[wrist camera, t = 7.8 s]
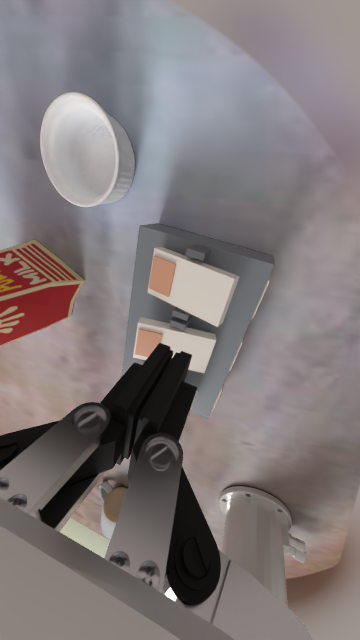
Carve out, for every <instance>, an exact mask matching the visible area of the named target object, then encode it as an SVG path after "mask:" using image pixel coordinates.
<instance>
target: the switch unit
mask: <svg viewBox="0 0 360 640" xmlns="http://www.w3.org/2000/svg"><path fill="white" fill-rule="evenodd" d="M158 247H163V248H166V249H169V250H171V251H174V252H177V253H179V254H182V255H184V256H187V257H190V258H192V259H195V260H198V261H200V262H203V263H206V264H208V265H211V266H213V267H216V268H219V269H221V270H224V271H227V272H229V273H232V274H235V275H237V276H240V277H239V279H238V282H237V285H236V288H235V290H234V293H233V296H232V299H231V301H230V304H229V307H228V310H227V312H226V315H225V318H224V321H223V323H222V324H221V325H220V326H218V327H216V326H214V325H212V324H210V323H208V322H206V321H204V320H202V319H200V318H198V317H196V316H194V315H192V314H190V313H188V312H186V311H184V310H182V309H180V308H178V307H176V306H174V305H172V304H170V303H168V302H166V301H163V300H161V299H159V298H157V297H155V296H153V295H151V294H149V293H147V292H148V286H149V279H150V273H151V267H152V260H153V254H154V248H158ZM274 265H275V264H274V260H273V256H272V255H268V254H265V253H261V252H258V251H254V250H251V249H247V248H244V247H240V246H236V245H233V244H229V243H226V242H222V241H219V240H215V239H212V238H208V237H205V236H201V235H198V234H194V233H191V232H187V231H184V230H180V229H177V228H173V227H170V226H166V225H163V224H159V223H158V224H149V225H140V227H139V235H138V244H137V252H136V260H135V269H134V277H133V285H132V294H131V302H130V310H129V319H128V327H127V335H126V344H125V352H124V361H123V369H122V376H123V375H124V374H125V373H126V371H127V370H128V369H129V368H130V367H131V365H132V364H133V363H135V362H136V363H138V362H139V361H140V360H141V361H143V362H145V361H146V360H142V359H138V358H133V353H134V346H135V339H136V332H137V325H138V321H139V319H140V317H144V318H148V319H152V320H157V321H161V322H166V323H170V324H169V325H171V326H173V327H176V328H179V329H182V330H185V329H186V327H187V328H192V329H196V330H200V331H205V332H209V333H213V334H216V343H215V345H214V348H213V351H212V354H211V356H210V359H209V362H208V365H207V367H206V370H205V373H201V372H196V371H192V370H188V372H187V375H186V378H185V382H186V383H188V384H191V385H193V386H196V387H198V388H197V391H198V393H197V395H196V398H195V401H194V404H193V406H192V409H191V412H193V413H195V414H197V415H199V416H202V417H204V418H206V419H208V418H209V415H210V413H211V411H212V410H214V407H216V405H217V403H218V400H219V398H220V396H221V393H222V391H223V386H224V381H225V379H226V376H227V374H228V372H229V370H230V371H231V368H232V366H233V364H234V362H235V359H236V357H237V355H238V352H239V350H240V348H241V346H242V343H243V338H244V335H245V332H246V330H247V328H248V325H249V323H250V321H251V319H252V318H254V316H255V314H256V311H257V309H258V307H259V305H260V302H261V300H262V298H263V295H264V293H265V291H266V289H267V286H268V284H269V282H270V278H269V277H270V275H271V272H272V270H273V268H274Z"/></svg>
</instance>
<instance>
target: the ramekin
mask: <svg viewBox="0 0 360 640" xmlns="http://www.w3.org/2000/svg"><path fill="white" fill-rule="evenodd" d="M40 148H41V155H42V159H43V163H44V166H45V169H46V172H47V174H48V176H49V178H50V180H51V182H52V184H53V185H54V187H55V188H56V190H57V191H58V192H59V193H60V194H61V195H62V196H63V197H64V198H65V199H66V200H67V201H69V202H71V203H72V204H74V205H77V206H81V207H92V206H96V205H99V204H106V203H112V202H116V201H117V200H119V199H121V198H122V197H123V196H124V195H125V194H126V193H127V191H128V190H129V188H130V186H131V183H132V180H133V177H134V170H135V159H134V153H133V149H132V146H131V143H130V140H129V138H128V136H127V134H126V132H125V130H124V129H123V128H122V126H121V125H120V124H119V123H118V122H117V121H116V120H115V119H114V118H112V117H111V116H110V115H109V114H107V113H106V112H105V111H104V109H103V108H102V107H101V106H100V105H99V104H98V103H97V102H96V101H95V100H93V99H92V98H90V97H89V96H87V95H85V94H83V93H79V92H68V93H64V94H62V95H60V96H58V97H57V98H56V99H55V100H54V101H53V102H52V103H51V104H50V105H49V107H48V109H47V111H46V113H45V115H44V118H43V121H42V125H41V132H40Z"/></svg>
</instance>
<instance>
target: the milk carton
mask: <svg viewBox="0 0 360 640" xmlns="http://www.w3.org/2000/svg"><path fill="white" fill-rule="evenodd" d="M84 282H85V280H84V279H83V278H81V277H80V276H79V275H78V274H77V273H76V272H74V271H73V270H72V269H71V268H70V267H68V266H67V265H66V264H65V263H64V262H63V261H61V260H60V259H59V258H58V257H56V256H55V255H54V254H53V253H51V252H50V251H49V250H48V249H46V248H45V247H44V246H43V245H41V244H40V243H39V242H38V241H36V240H32V241H29V242H25V243H22V244H19V245H16V246H13V247H10V248H7V249H3V250H0V346H2V345H5V344H7V343H10V342H12V341H14V340H17V339H19V338H22V337H24V336H27V335H29V334H32V333H34V332H37V331H39V330H42V329H44V328H47V327H49V326H51V325H53V324H55V323H57V322H60V321H62V320H64V319H66V318H68V317H70V316H71V314H72V309H73V304H74V300H75V298H76V296H77V294H78V292H79V291H80V289H81V287H82V285H83V283H84Z"/></svg>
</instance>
